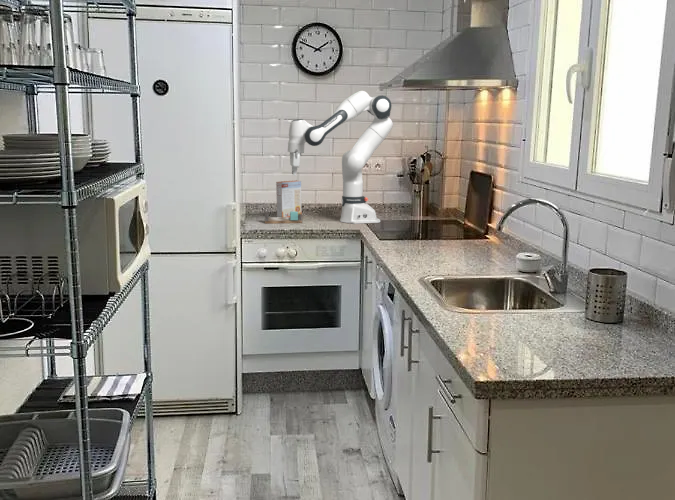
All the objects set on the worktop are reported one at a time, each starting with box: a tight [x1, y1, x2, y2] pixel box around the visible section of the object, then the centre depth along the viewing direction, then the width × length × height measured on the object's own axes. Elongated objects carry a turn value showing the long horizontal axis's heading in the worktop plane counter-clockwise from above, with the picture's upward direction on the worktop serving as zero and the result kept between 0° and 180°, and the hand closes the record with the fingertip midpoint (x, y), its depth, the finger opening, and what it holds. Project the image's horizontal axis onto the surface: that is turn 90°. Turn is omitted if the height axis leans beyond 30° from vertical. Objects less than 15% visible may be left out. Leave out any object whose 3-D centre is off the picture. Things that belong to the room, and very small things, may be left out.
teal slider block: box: [290, 211, 298, 220], centre depth 386 cm, size 4×5×4 cm
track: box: [264, 211, 303, 225], centre depth 386 cm, size 20×10×6 cm, turn 97°
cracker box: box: [275, 179, 303, 217], centre depth 403 cm, size 14×6×21 cm, turn 130°
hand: (294, 174), depth 382 cm, fingers open, 8 cm apart
